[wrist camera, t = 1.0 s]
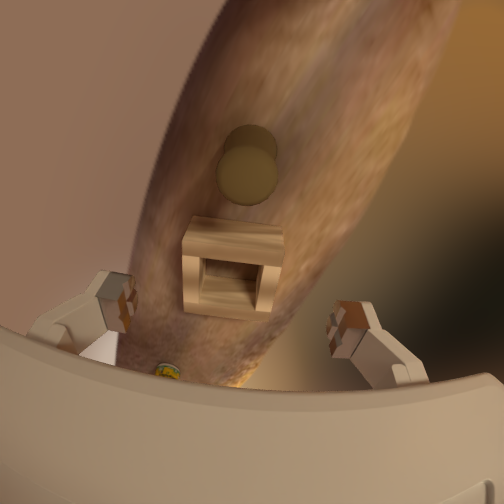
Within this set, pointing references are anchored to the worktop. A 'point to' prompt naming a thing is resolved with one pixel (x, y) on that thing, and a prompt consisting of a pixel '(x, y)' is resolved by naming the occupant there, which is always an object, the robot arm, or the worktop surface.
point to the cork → (248, 166)
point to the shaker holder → (237, 250)
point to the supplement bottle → (167, 371)
